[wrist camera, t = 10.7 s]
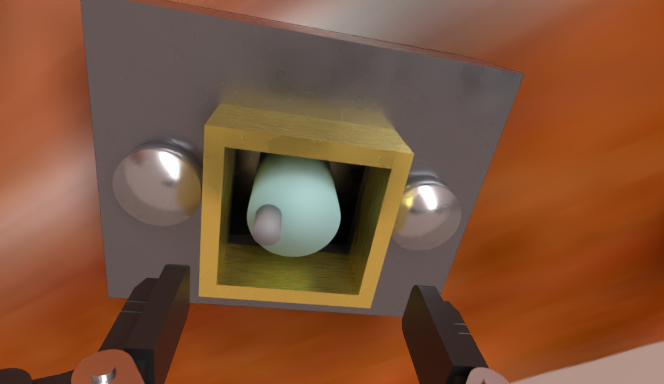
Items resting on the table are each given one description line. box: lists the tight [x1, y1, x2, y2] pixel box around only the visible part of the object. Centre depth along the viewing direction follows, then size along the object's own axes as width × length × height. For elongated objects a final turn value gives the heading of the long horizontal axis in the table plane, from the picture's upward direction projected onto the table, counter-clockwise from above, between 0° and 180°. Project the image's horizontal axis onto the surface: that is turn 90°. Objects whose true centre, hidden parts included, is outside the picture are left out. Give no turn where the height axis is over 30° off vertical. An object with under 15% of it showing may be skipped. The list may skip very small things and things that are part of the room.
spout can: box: [247, 152, 341, 257], centre depth 21 cm, size 4×4×10 cm
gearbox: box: [80, 0, 524, 317], centre depth 22 cm, size 20×16×10 cm
